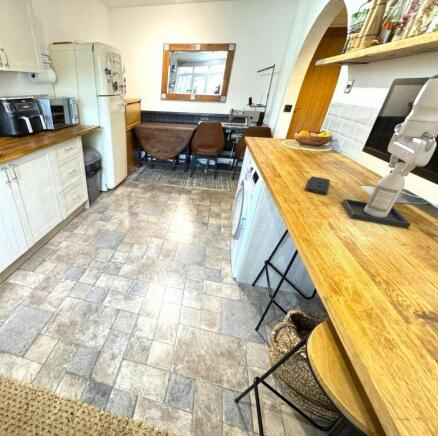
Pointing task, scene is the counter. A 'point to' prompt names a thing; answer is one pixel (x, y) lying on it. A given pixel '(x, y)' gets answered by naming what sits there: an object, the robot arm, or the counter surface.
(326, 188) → the smart home device
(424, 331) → the counter surface
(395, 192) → the bath foam
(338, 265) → the counter surface
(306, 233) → the counter surface
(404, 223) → the tray
